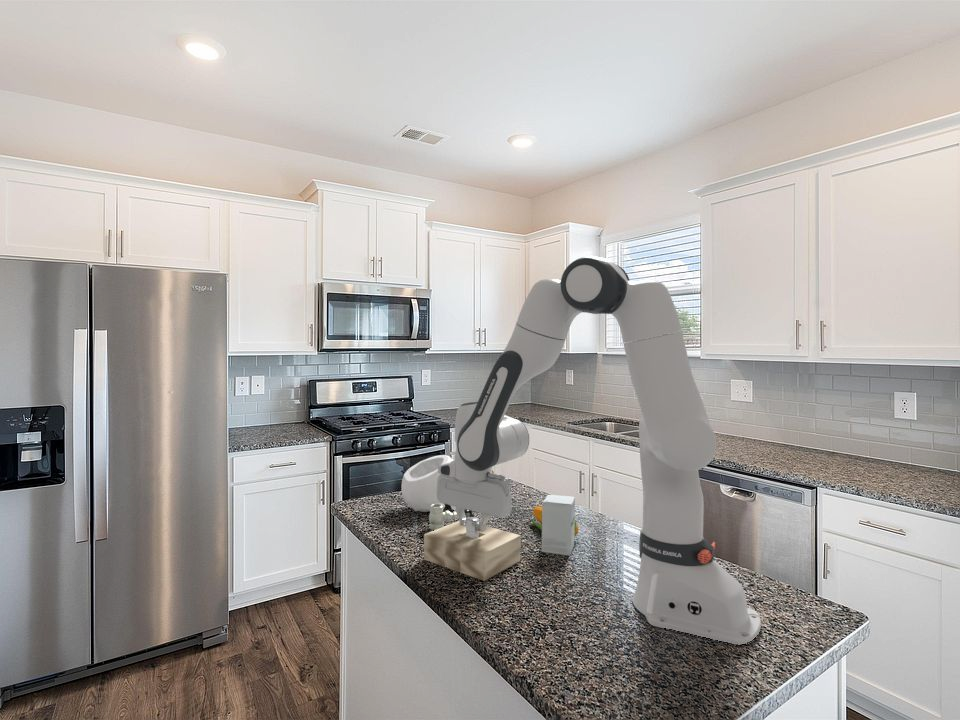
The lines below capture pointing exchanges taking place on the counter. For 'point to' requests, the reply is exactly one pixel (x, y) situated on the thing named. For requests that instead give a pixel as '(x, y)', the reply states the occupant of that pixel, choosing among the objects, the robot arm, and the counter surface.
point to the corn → (538, 515)
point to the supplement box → (558, 524)
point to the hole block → (472, 550)
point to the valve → (442, 516)
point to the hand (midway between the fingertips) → (472, 528)
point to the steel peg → (472, 528)
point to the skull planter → (423, 483)
